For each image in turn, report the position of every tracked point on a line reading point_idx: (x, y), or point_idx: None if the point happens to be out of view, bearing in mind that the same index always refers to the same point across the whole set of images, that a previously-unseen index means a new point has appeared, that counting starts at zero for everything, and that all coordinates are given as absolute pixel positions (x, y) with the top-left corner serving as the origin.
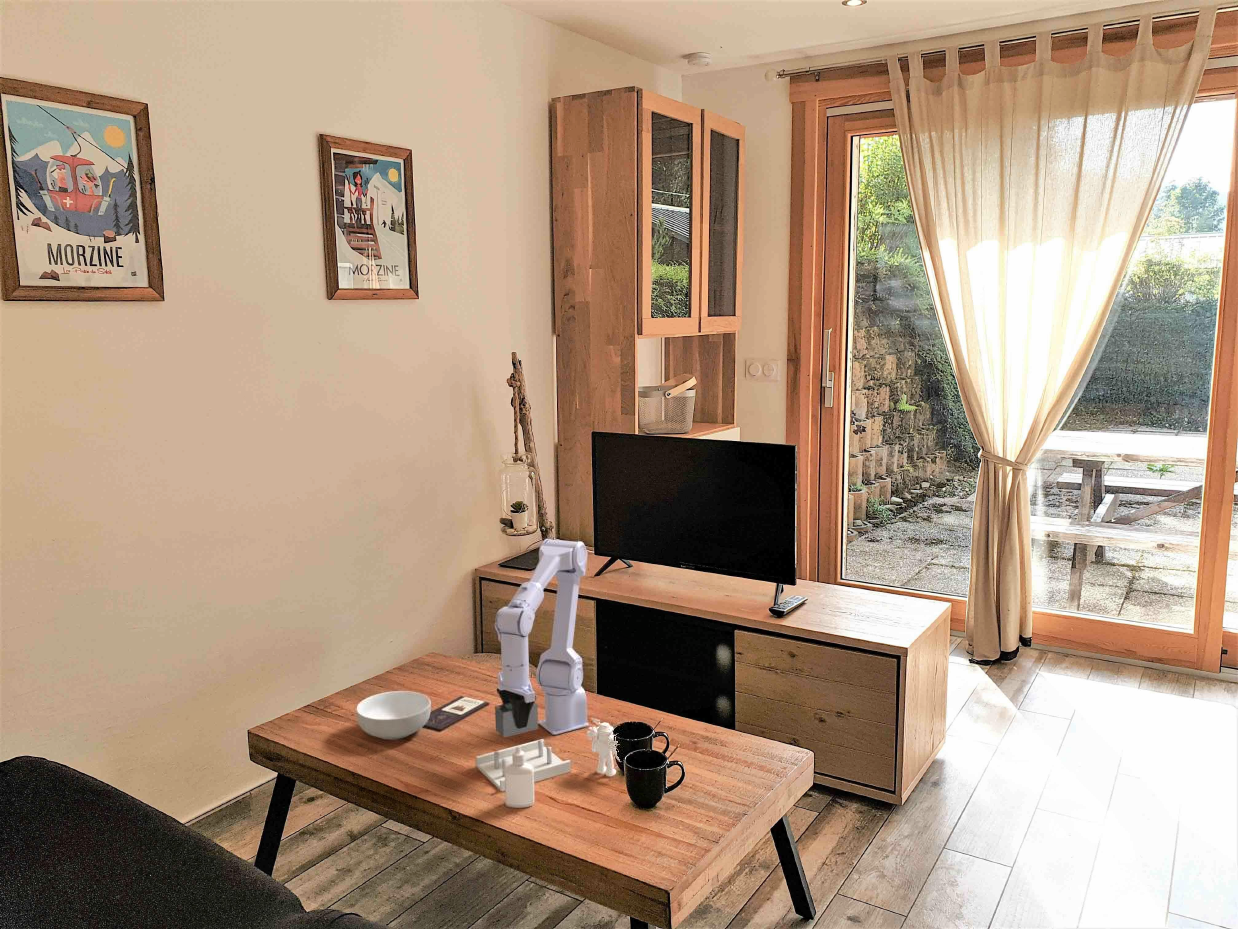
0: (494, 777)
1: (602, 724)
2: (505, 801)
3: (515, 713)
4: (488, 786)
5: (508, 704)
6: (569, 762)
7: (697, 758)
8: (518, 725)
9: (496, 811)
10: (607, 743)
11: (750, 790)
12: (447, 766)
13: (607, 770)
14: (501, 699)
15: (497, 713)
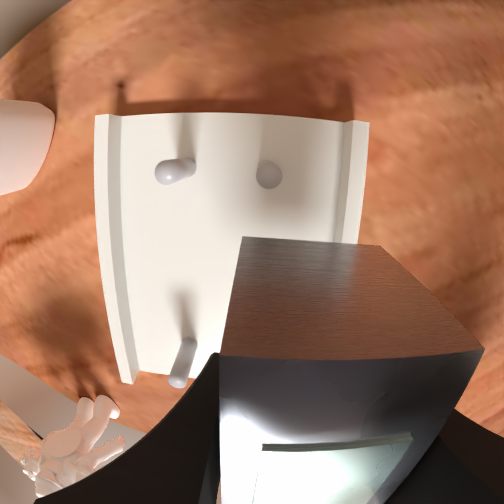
0: (197, 125)
1: (40, 496)
2: (34, 102)
3: (167, 435)
4: (178, 91)
5: (387, 463)
6: (121, 377)
7: None
8: (203, 369)
9: (37, 71)
10: (41, 454)
11: (15, 453)
12: (415, 55)
13: (79, 407)
14: (494, 438)
15: (400, 315)
